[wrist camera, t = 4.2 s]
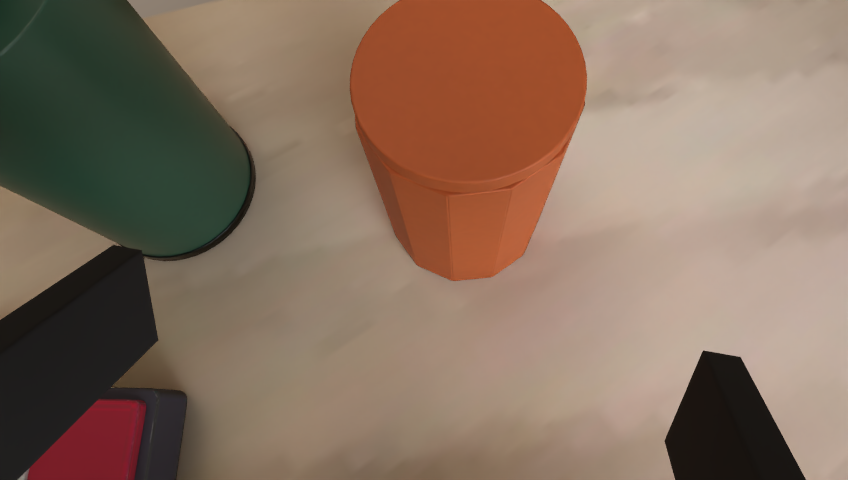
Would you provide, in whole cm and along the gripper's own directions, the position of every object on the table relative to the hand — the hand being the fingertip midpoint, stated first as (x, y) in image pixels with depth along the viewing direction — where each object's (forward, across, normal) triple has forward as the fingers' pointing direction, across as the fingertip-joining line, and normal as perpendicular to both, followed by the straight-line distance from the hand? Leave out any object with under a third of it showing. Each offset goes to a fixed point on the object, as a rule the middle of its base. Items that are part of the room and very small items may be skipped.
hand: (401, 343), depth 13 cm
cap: (+16, 0, -4) cm, 16 cm away
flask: (+15, -16, -4) cm, 22 cm away
